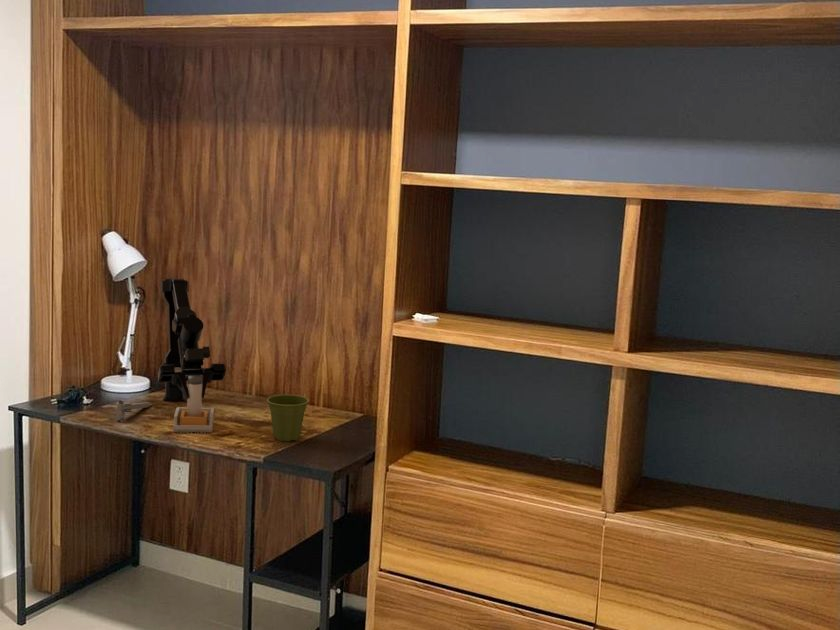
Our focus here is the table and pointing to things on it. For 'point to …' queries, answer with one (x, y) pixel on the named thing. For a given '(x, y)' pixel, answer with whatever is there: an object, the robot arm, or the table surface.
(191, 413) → the plug
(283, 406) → the plant pot
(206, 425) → the socket box
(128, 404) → the caliper
